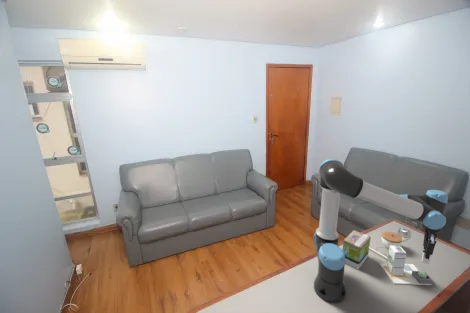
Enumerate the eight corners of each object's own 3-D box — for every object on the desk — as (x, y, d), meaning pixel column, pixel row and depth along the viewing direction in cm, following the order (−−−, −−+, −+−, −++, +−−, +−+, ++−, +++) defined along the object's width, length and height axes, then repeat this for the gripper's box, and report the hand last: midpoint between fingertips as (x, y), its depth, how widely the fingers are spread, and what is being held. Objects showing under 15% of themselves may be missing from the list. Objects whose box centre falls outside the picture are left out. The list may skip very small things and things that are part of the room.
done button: (420, 280, 113) (421, 275, 113) (415, 274, 117) (416, 270, 116) (428, 280, 113) (428, 275, 112) (422, 274, 116) (423, 270, 116)
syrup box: (403, 275, 118) (407, 252, 114) (391, 275, 119) (395, 252, 115) (397, 268, 123) (401, 245, 119) (386, 267, 124) (389, 245, 120)
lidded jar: (405, 252, 136) (407, 238, 134) (387, 252, 136) (389, 239, 134) (393, 241, 146) (395, 228, 144) (376, 242, 147) (378, 229, 144)
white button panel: (394, 284, 114) (395, 278, 113) (379, 264, 127) (380, 259, 126) (431, 285, 112) (432, 279, 111) (412, 265, 126) (413, 260, 125)
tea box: (358, 270, 124) (361, 247, 120) (340, 261, 131) (342, 239, 128) (368, 257, 133) (371, 235, 130) (351, 249, 141) (353, 229, 137)
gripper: (446, 230, 99) (438, 273, 105) (439, 216, 110) (432, 257, 116) (424, 226, 103) (417, 268, 109) (420, 213, 114) (414, 252, 120)
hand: (425, 262), depth 112 cm, fingers closed
